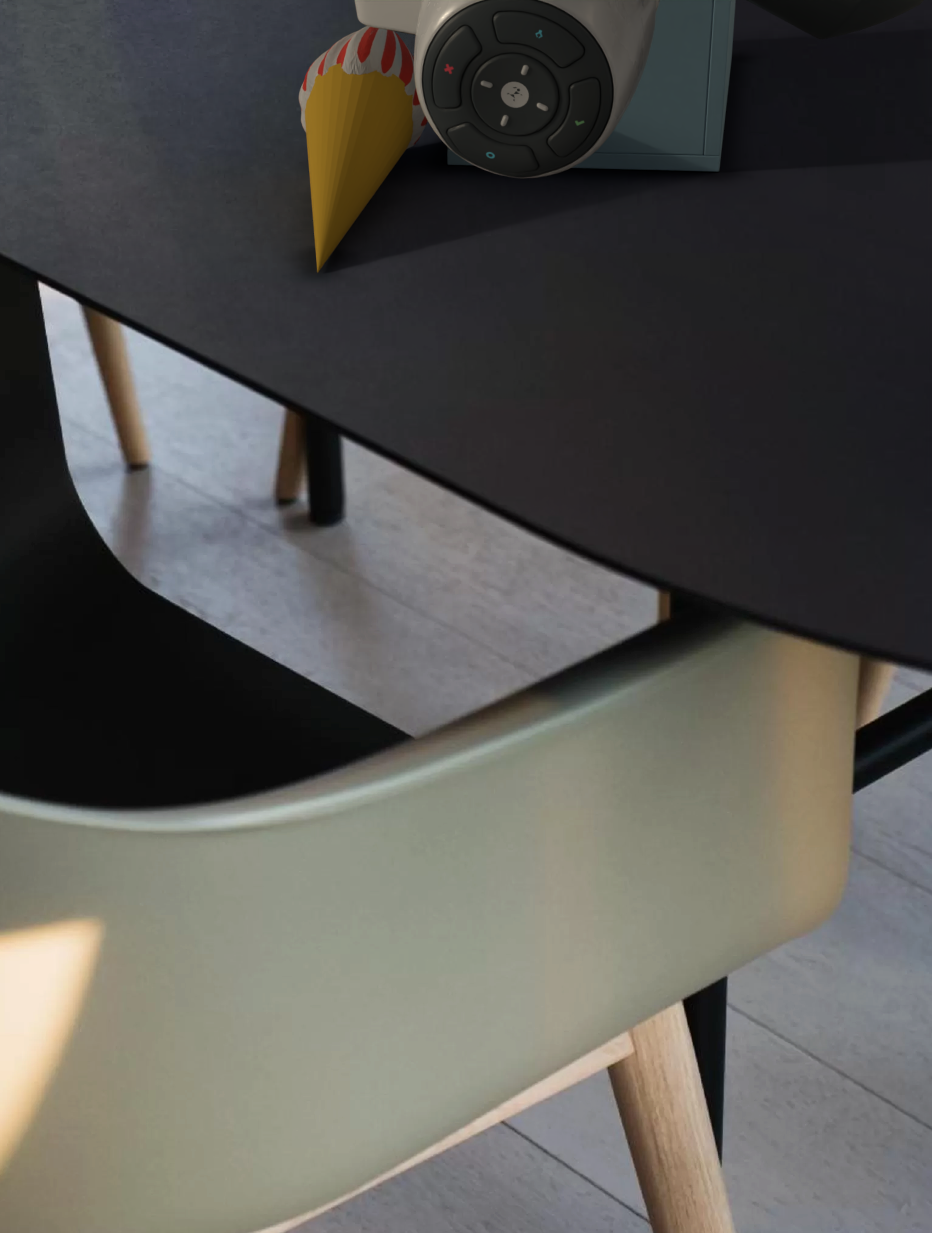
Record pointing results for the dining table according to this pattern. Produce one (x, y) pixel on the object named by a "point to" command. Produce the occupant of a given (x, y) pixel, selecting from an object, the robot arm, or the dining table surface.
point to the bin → (674, 94)
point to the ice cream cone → (356, 126)
